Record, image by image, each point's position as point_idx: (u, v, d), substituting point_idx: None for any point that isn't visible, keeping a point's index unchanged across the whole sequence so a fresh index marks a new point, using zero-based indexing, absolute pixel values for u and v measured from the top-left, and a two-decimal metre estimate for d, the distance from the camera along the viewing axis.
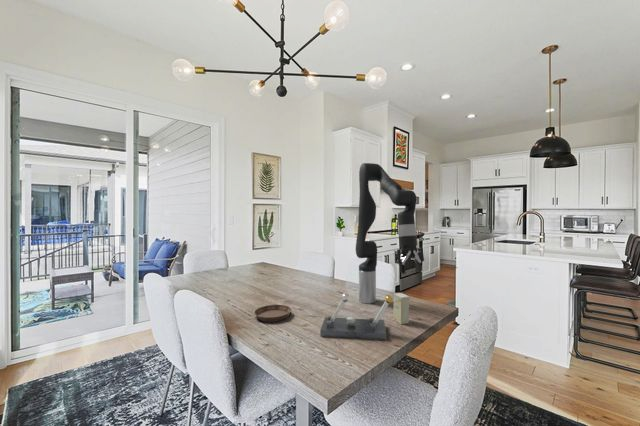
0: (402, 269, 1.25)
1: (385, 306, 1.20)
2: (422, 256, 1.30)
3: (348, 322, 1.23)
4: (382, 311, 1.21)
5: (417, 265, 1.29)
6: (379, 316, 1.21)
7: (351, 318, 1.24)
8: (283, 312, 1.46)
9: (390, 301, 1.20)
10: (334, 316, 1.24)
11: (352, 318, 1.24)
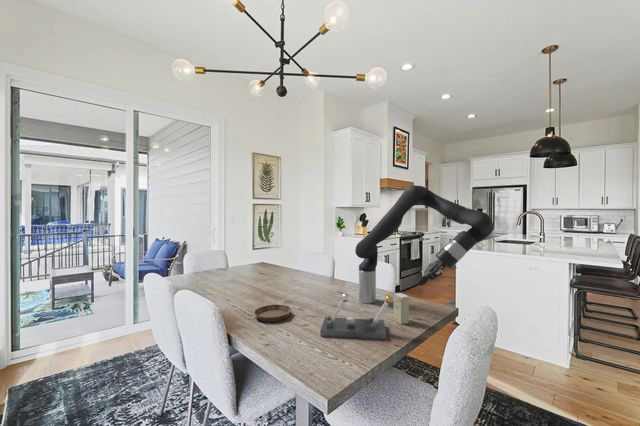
0: (424, 282, 1.18)
1: (385, 306, 1.20)
2: None
3: (348, 322, 1.23)
4: (382, 311, 1.21)
5: None
6: (379, 316, 1.21)
7: (351, 318, 1.24)
8: (283, 312, 1.46)
9: (390, 301, 1.20)
10: (334, 316, 1.24)
11: (352, 318, 1.24)
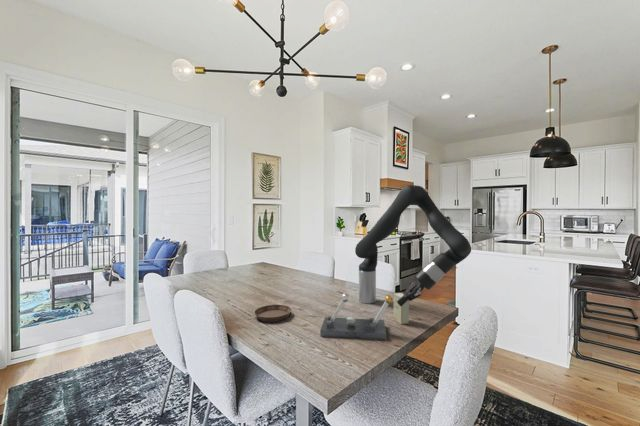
0: (403, 303, 1.20)
1: (385, 306, 1.20)
2: None
3: (348, 322, 1.23)
4: (382, 311, 1.21)
5: None
6: (379, 316, 1.21)
7: (351, 318, 1.24)
8: (283, 312, 1.46)
9: (390, 301, 1.20)
10: (334, 316, 1.24)
11: (352, 318, 1.24)
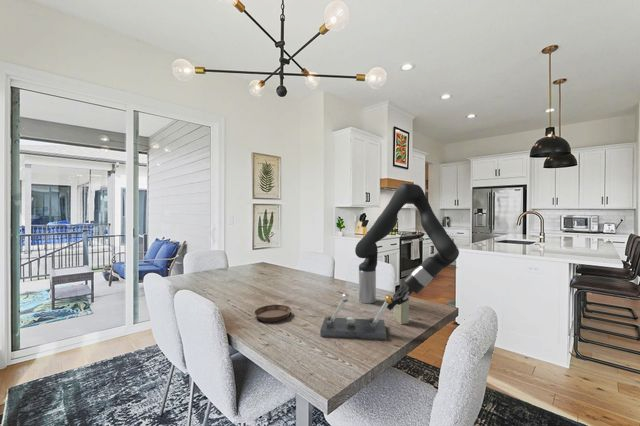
0: (392, 307, 1.20)
1: (385, 306, 1.20)
2: None
3: (348, 322, 1.23)
4: (382, 311, 1.21)
5: None
6: (379, 316, 1.21)
7: (351, 318, 1.24)
8: (283, 312, 1.46)
9: (390, 301, 1.20)
10: (334, 316, 1.24)
11: (352, 318, 1.24)
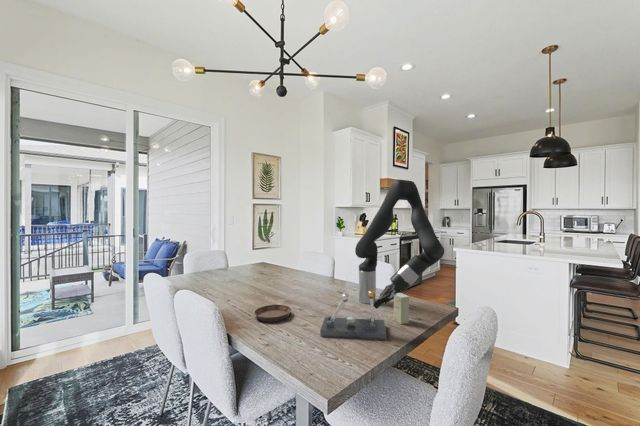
0: (379, 305, 1.21)
1: (371, 302, 1.21)
2: None
3: (348, 322, 1.23)
4: (372, 308, 1.21)
5: None
6: (372, 314, 1.21)
7: (351, 318, 1.24)
8: (283, 312, 1.46)
9: (373, 295, 1.21)
10: (334, 316, 1.24)
11: (352, 318, 1.24)
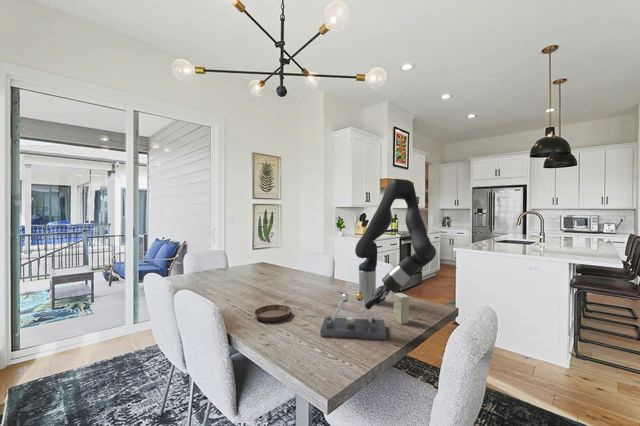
0: (371, 306, 1.22)
1: (362, 304, 1.22)
2: None
3: (348, 322, 1.23)
4: (365, 309, 1.22)
5: None
6: (367, 315, 1.22)
7: (351, 318, 1.24)
8: (283, 312, 1.46)
9: (361, 297, 1.21)
10: (334, 316, 1.24)
11: (352, 318, 1.24)
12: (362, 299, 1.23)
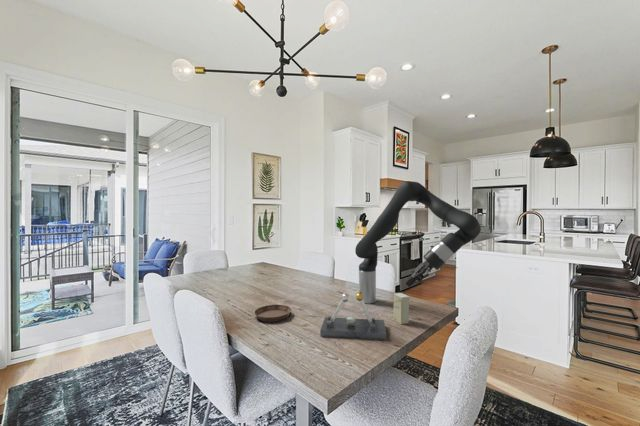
0: (411, 283, 1.19)
1: (362, 304, 1.22)
2: None
3: (348, 322, 1.23)
4: (365, 309, 1.22)
5: None
6: (367, 315, 1.22)
7: (351, 318, 1.24)
8: (283, 312, 1.46)
9: (360, 297, 1.21)
10: (334, 316, 1.24)
11: (352, 318, 1.24)
12: (362, 299, 1.23)
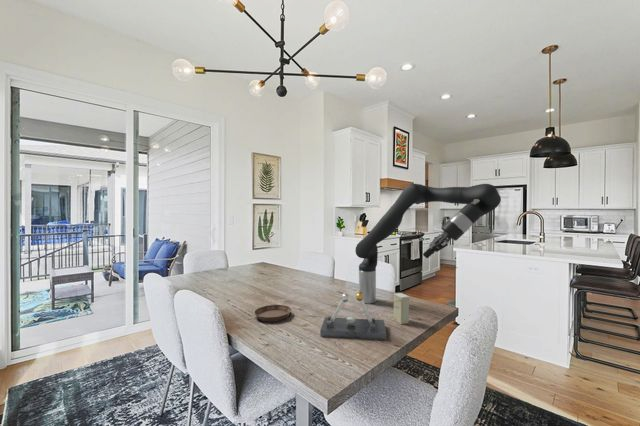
0: (429, 254, 1.18)
1: (362, 304, 1.22)
2: None
3: (348, 322, 1.23)
4: (365, 309, 1.22)
5: None
6: (367, 315, 1.22)
7: (351, 318, 1.24)
8: (283, 312, 1.46)
9: (360, 297, 1.21)
10: (334, 316, 1.24)
11: (352, 318, 1.24)
12: (362, 299, 1.23)
